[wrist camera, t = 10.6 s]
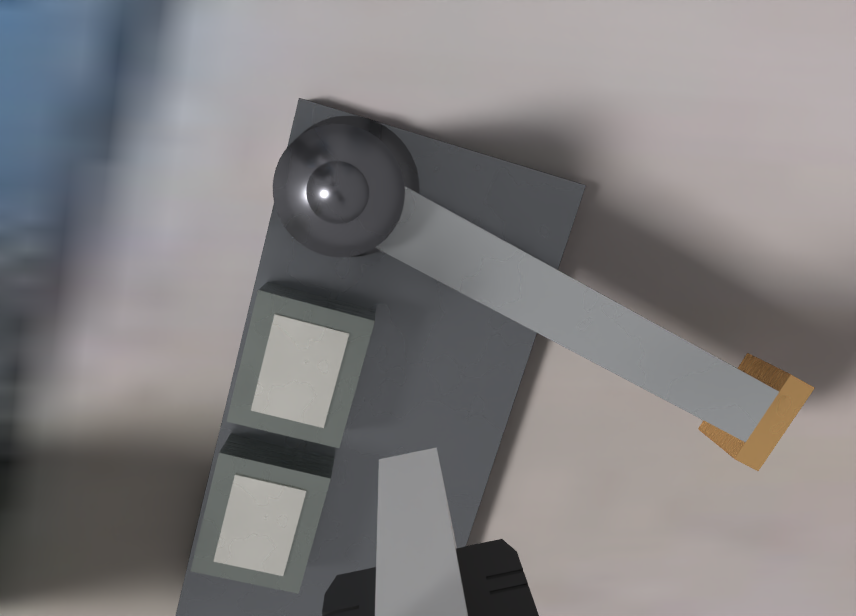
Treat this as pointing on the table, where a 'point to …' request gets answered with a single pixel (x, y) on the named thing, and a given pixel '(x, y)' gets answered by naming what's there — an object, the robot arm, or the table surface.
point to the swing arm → (521, 287)
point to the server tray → (362, 385)
